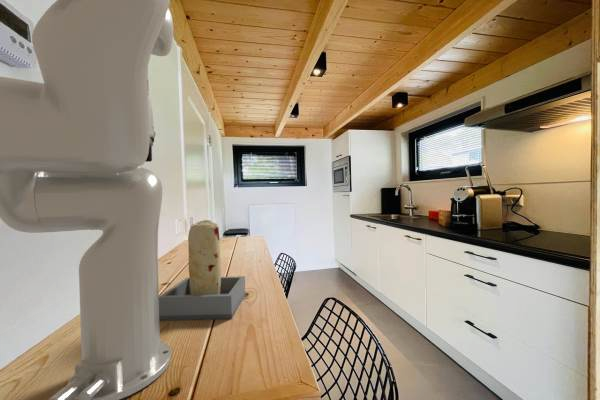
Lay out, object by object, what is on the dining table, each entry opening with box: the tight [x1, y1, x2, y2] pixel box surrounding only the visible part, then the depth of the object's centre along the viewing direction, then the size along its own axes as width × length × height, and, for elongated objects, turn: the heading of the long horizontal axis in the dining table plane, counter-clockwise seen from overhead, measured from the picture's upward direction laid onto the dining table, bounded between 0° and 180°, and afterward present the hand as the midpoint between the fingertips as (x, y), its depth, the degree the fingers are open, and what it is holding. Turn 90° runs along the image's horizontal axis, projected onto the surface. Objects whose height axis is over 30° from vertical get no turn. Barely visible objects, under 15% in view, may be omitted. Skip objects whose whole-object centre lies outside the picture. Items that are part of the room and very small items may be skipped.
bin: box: [159, 275, 246, 321], centre depth 58 cm, size 13×16×5 cm
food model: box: [187, 219, 222, 295], centre depth 58 cm, size 10×7×20 cm
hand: (131, 158), depth 56 cm, fingers open, 9 cm apart
